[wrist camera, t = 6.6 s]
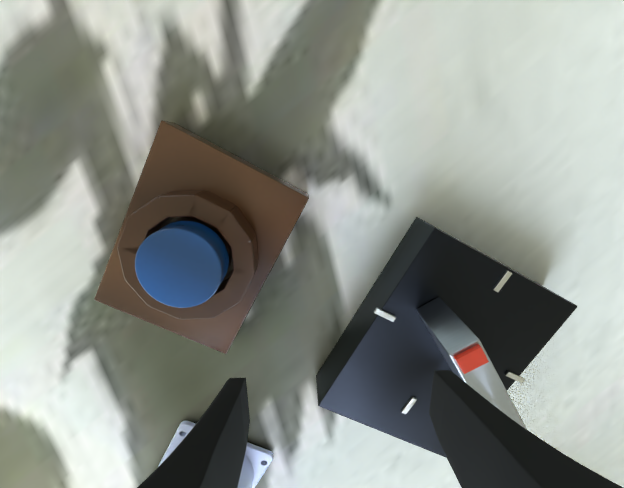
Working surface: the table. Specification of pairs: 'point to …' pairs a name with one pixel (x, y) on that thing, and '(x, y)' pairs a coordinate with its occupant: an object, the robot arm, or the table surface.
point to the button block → (212, 213)
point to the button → (182, 264)
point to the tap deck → (418, 341)
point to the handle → (466, 355)
